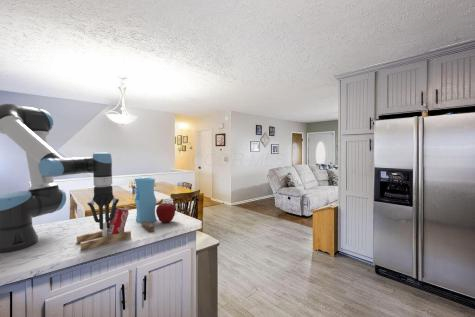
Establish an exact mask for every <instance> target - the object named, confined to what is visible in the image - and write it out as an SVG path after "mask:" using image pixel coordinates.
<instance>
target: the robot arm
mask: <svg viewBox="0 0 475 317" xmlns="http://www.w3.org/2000/svg"><path fill="white" fill-rule="evenodd" d="M53 126H54V119H53V117H52V115H51V114H50V112H48V111H47V110H45V109H44V108H43V109H41V108H38V107H32V106H26V105H25V106H24V105H20V104H15V103H3V104H0V133H1V134H4V135H6V136H7V137H9V138H10V139H11V140H12V141H13V142H14V143H15V144H17V146H19V147H20V148H21V149H22V150H23V151H24V152H25V156H26V161H27V166H28V167H27V168H28V171H29V178H30V179H29V180H30V184H31V186H30V187H29V188H28V189H27V190H21V191H13V192H9V193H8V192H7V193H4V194H2V195H0V254H1V253H3V254H4V253H10V252H13V251H15V252H16V251H19V250H22V249H26V248H28V247H30V246H33V245H35V244H37V243H38V242H39V236H38V234H37V232H36V230H35V228H34V226H33V218H36V217H40V216H41V217H42V216H43V215H48V214H53V213H55V212H58V211H60V210H61V209H63V208H64V206H65V205H66V201H67V194H66V192H65V191H64V189H62V188H60V187H59V184H57V183H56V182H55V181H54V178H55V177H57V178H58V177H62V176H69V175H70V176H71V175H78V174H80V175H81V174H93V197H92V200H90V201H88V202H87V205H88V207H89V208H90V211H91V214H92V216H93V219H94V222H95V223H99V224H98V225H99V231H102V236H103V237H105V236H107V228H109V222H110V220H112V219H113V218H114V214H115V210H116V207H117V205H118V203H119V201H120V199H119V198H117V197H115V195H114V193H113V186H112V185H113V160H112V159H113V158H112V154H111V153H110V152H93V153H92V156H89V157H88V156H85V157H84V156H77V157H76V156H75V157H62V156H61V155H60V154H59V153H58V152H57V151H56V150H54V148H53V147H51V146H50V145H49V144H48V140H47V136H48V135H49V134H50V131H51V130H52V129H53ZM111 203H112V205H111V209H110V204H111ZM95 204H96V205H97V207H98V214H97V211H96V209H95V206H94V205H95Z"/></svg>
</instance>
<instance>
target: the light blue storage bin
mask: <svg viewBox="0 0 475 317" xmlns="http://www.w3.org/2000/svg"><path fill="white" fill-rule="evenodd" d="M155 181H156V179H155V178H154V177H141V178H134V182H135V186H136V194H135V198H134V203H135V209H136V216H135V221H136V222H137V223H138V224H142V221H147V222H148V223H150V222H155V221H157V215H156V205H157V198H156V195H155V188H154V187H155Z"/></svg>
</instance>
